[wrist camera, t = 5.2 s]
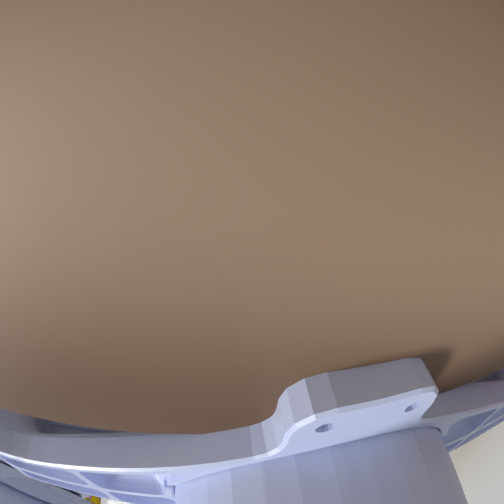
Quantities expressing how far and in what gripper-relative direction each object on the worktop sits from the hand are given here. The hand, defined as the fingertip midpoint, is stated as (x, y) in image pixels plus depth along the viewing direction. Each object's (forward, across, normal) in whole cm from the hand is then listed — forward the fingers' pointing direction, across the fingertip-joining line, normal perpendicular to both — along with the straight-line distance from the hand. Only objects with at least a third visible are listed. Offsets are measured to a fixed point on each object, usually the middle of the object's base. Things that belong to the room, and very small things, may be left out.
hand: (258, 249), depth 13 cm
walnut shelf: (+1, 0, -9) cm, 9 cm away
